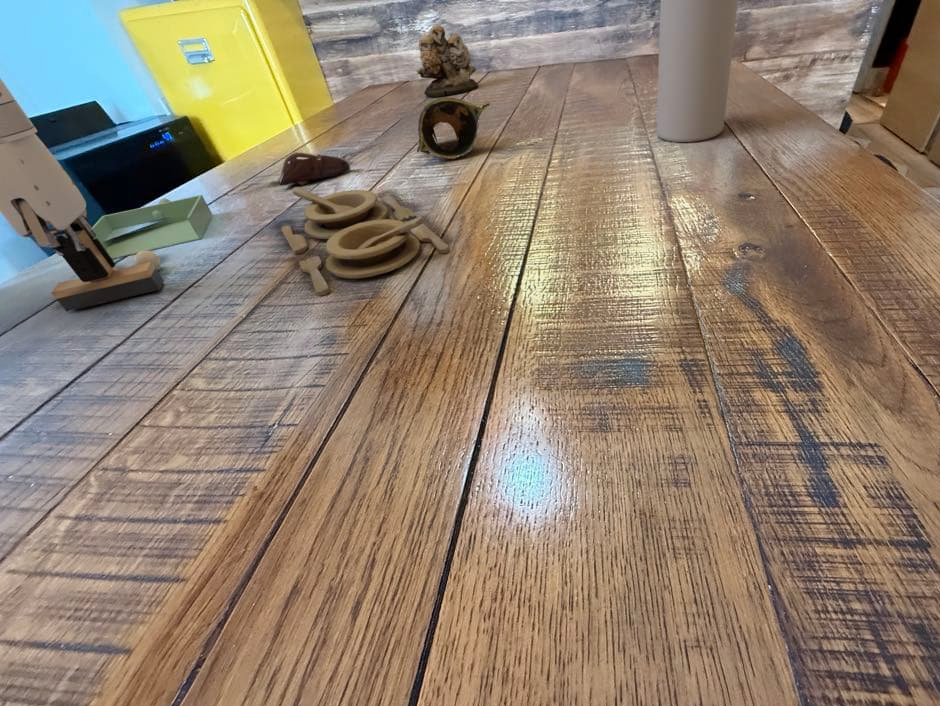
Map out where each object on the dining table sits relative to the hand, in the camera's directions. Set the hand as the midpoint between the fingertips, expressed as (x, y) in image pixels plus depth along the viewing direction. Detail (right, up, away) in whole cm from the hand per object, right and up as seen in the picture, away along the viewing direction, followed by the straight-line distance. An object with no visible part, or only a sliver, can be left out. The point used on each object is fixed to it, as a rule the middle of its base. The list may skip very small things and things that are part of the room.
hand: (99, 272), depth 70 cm
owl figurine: (+33, +79, +89) cm, 123 cm away
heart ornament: (+15, +29, +36) cm, 48 cm away
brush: (0, -3, +2) cm, 4 cm away
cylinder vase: (+89, +34, +29) cm, 100 cm away
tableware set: (+33, +7, +8) cm, 35 cm away
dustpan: (-8, +14, +22) cm, 27 cm away
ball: (+1, +4, +8) cm, 8 cm away
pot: (+43, +35, +38) cm, 67 cm away
